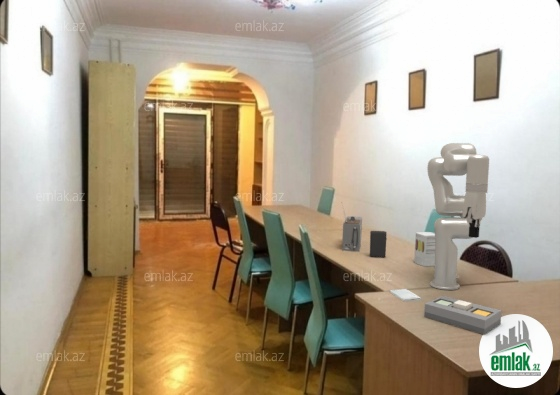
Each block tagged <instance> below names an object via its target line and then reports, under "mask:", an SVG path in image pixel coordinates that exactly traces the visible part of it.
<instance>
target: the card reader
mask: <svg viewBox="0 0 560 395" xmlns="http://www.w3.org/2000/svg"><path fill="white" fill-rule="evenodd" d="M369 233H370V235H369V239H370V240H369V257H372V258H382V259H383V258H386V253H387V252H386V250H387V240H388V239H387V231H384V230H370V232H369Z"/></svg>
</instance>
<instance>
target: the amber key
mask: <svg viewBox="0 0 560 395" xmlns="http://www.w3.org/2000/svg"><path fill="white" fill-rule="evenodd" d="M473 313H475V314H479V315H483V316H489V315H491V313H489V312H485V311H481V310H476V311H475V312H473Z"/></svg>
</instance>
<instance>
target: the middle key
mask: <svg viewBox="0 0 560 395" xmlns="http://www.w3.org/2000/svg"><path fill="white" fill-rule="evenodd" d="M461 300H462V299H458V301H456V302H454V304H453V308H457V309H461V310H464V311H468V310H470V309H471V306H472V303H473V302H470V303H469V301H466V302H465V300H462V301H461Z"/></svg>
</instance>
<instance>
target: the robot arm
mask: <svg viewBox="0 0 560 395" xmlns="http://www.w3.org/2000/svg"><path fill="white" fill-rule="evenodd" d="M426 168H427V177H428V179H429V181H430V184H431V186H432V189H433V198H434V207H435V212H436V213H437V215H438V216H442V217H439V218H436V220H435V222H434V224H433V227H434V229H433V230H434V234H435V265H434V266H433V269H434V270H433V279H432V280H431V281H430V282H429V285H430V286H431V287H432V288H435V289H438V290H444V291H455V290H459V289H460V284H459V283H458V282H457V280H458V279H459V278H460V276H459V275H458V274H457V269H458V253H459V252H458V246H457V245H456V243H455V242H454V241H453V240H457V239H459V240H460V239H461V240H470V239H473V238H475V239H476V238H479V237H480V228H481V227H480V226H481V221H483V219H484V218H485V216H486V212H487V194H488V189H489V173H490V172H489V170H490V157H489V156H488V155H483V154H477V149H476V147H475V145H474V144H472V143H469V142H468V143H466V142H465V143H463V142H461V143H459V142H456V143H455V142H452V143H446V144H445V145H443V146H442V147H441V150H440V156H439V157H433V158H431V159H430V160H429V161H428V163H427V167H426ZM445 176H452V177H453V176H456V177H460V176H461V177H462V176H466V178H465V191H464V192H465V195H455V194H454V188H453V185H452V183H451V182H450V181H449V180H448V179H447V178H445Z"/></svg>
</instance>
